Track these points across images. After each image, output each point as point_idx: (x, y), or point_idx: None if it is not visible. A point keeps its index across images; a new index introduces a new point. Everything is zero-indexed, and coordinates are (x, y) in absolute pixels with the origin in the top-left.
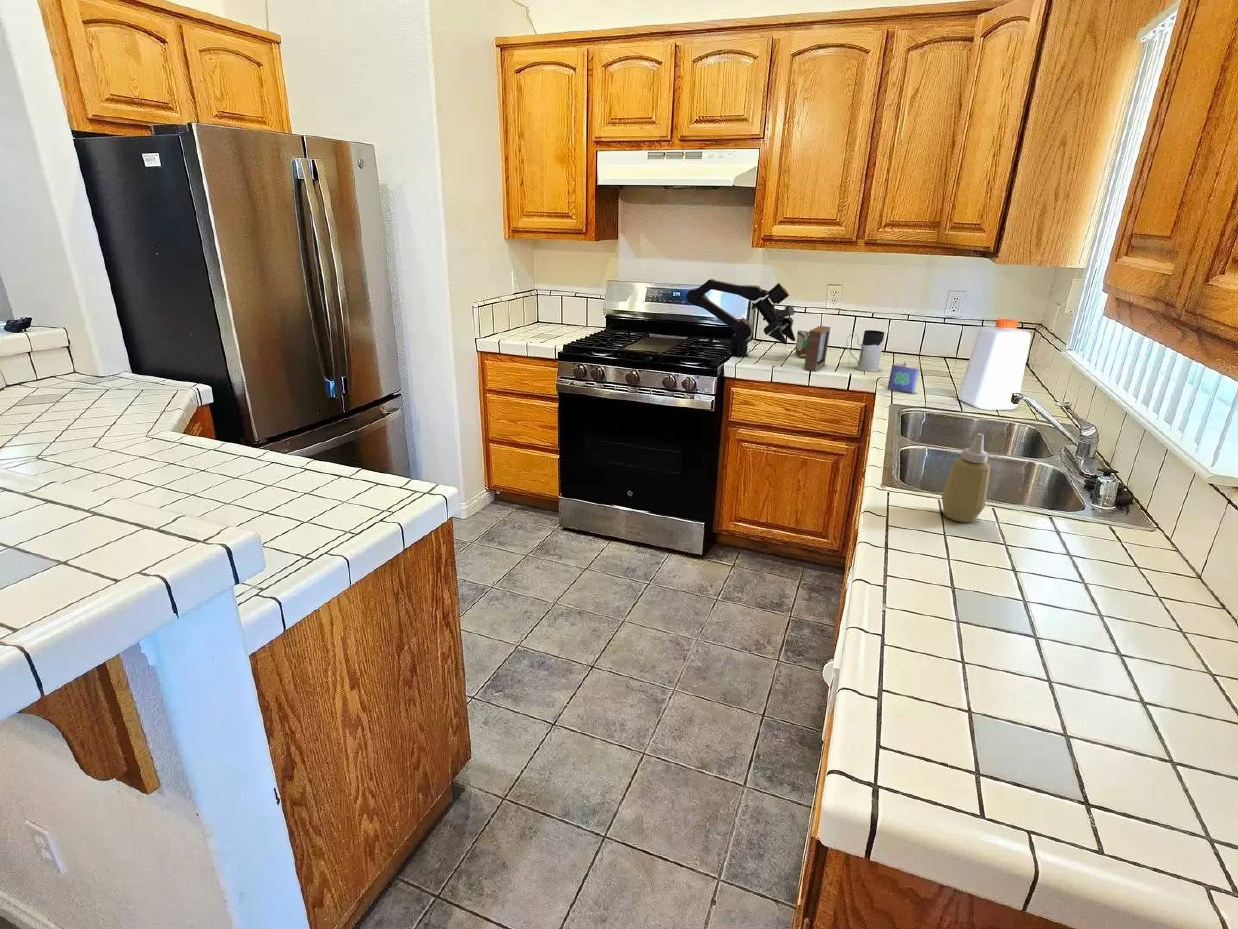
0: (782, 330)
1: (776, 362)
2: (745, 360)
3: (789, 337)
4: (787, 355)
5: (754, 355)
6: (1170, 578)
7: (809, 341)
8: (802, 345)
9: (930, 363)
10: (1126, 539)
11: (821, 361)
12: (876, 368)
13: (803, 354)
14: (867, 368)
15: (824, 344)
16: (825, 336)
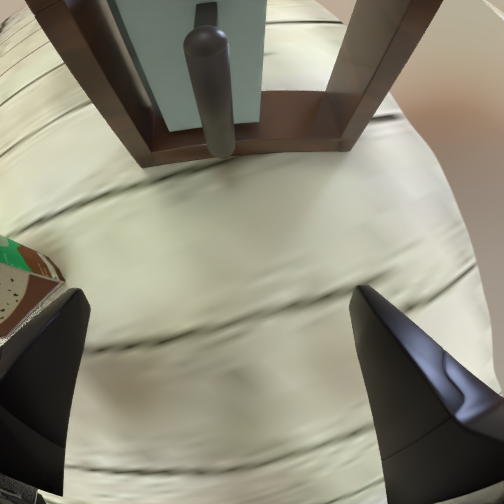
0: (45, 482)
1: (295, 351)
2: (366, 474)
3: (72, 368)
4: None
5: (205, 500)
6: (498, 10)
7: (416, 31)
8: (18, 268)
9: (21, 35)
10: (488, 4)
11: None
12: None
13: (47, 265)
14: None
15: (125, 46)
16: (105, 4)
